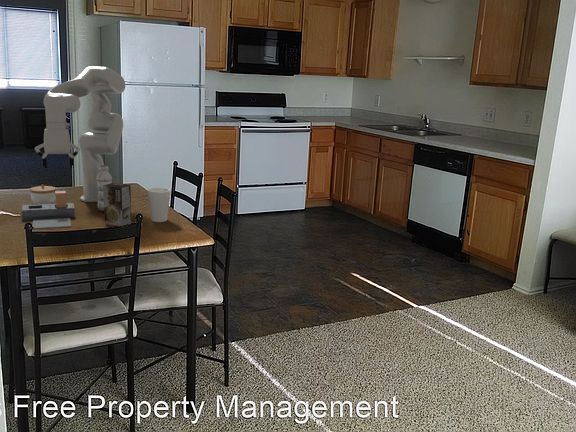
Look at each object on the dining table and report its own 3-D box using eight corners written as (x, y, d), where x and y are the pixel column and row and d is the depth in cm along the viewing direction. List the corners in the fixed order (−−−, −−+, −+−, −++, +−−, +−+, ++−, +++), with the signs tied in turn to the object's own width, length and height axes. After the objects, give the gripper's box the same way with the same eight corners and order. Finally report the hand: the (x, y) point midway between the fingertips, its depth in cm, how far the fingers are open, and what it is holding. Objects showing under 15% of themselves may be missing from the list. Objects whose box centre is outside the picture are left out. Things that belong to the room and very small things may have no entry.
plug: (66, 213, 244) (65, 190, 241) (67, 216, 240) (65, 193, 238) (56, 214, 242) (55, 191, 240) (56, 216, 239) (55, 193, 236)
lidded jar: (31, 208, 249) (29, 187, 246) (30, 203, 258) (29, 182, 256) (57, 207, 253) (56, 186, 251) (56, 201, 263) (55, 182, 260)
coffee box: (132, 223, 235) (131, 184, 231) (122, 227, 229) (121, 187, 225) (113, 220, 238) (112, 182, 234) (103, 224, 232) (102, 185, 228)
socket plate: (73, 211, 247) (73, 202, 246) (74, 217, 239) (74, 208, 238) (23, 214, 240) (22, 205, 239) (22, 219, 232) (21, 210, 231)
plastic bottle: (116, 210, 253) (115, 165, 248) (105, 213, 247) (104, 167, 242) (105, 208, 256) (103, 164, 251) (94, 211, 250) (92, 166, 245)
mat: (70, 219, 236) (69, 218, 236) (71, 226, 226) (71, 225, 225) (33, 220, 231) (33, 220, 231) (32, 229, 220) (32, 228, 220)
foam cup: (151, 216, 246) (150, 187, 243) (172, 217, 246) (172, 188, 243) (145, 222, 237) (144, 191, 234) (167, 223, 237) (167, 193, 233)
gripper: (78, 125, 238) (80, 165, 243) (33, 124, 232) (36, 166, 236) (79, 127, 232) (81, 168, 236) (32, 126, 225) (35, 169, 230)
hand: (58, 167), depth 236 cm, fingers open, 9 cm apart
